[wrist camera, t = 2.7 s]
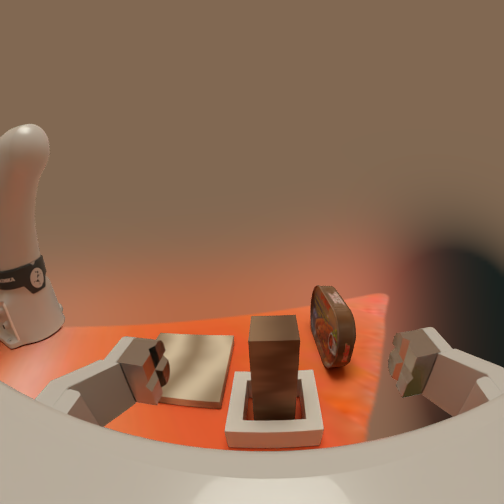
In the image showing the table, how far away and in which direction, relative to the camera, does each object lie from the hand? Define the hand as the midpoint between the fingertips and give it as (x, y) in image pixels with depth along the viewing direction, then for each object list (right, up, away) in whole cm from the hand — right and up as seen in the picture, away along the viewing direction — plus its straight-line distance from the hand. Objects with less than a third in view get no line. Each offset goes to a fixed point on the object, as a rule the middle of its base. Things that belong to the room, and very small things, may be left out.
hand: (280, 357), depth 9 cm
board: (-10, -12, +25) cm, 30 cm away
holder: (+1, -14, +17) cm, 22 cm away
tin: (+10, -11, +29) cm, 32 cm away
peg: (+1, -14, +17) cm, 22 cm away
